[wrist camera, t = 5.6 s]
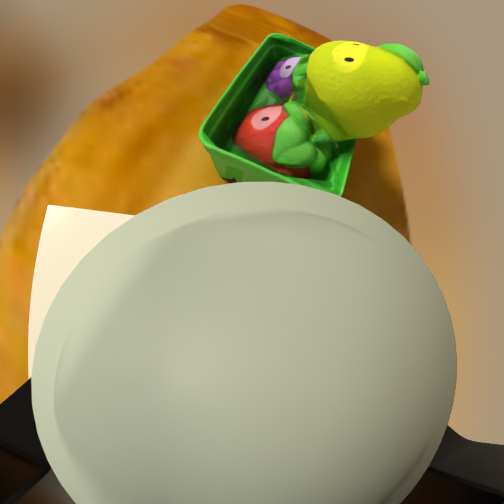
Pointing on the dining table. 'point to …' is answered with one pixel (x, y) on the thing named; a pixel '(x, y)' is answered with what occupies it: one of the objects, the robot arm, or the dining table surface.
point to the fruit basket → (309, 109)
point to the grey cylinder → (246, 356)
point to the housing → (63, 257)
